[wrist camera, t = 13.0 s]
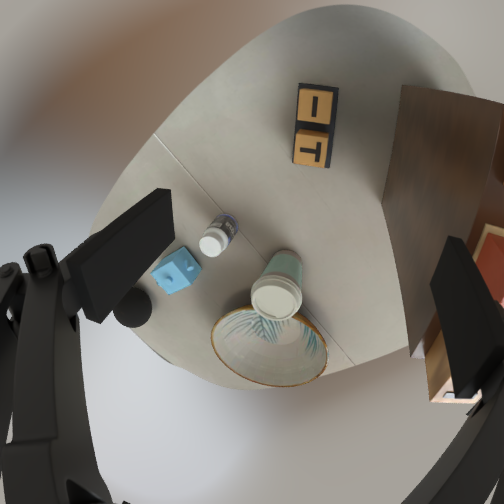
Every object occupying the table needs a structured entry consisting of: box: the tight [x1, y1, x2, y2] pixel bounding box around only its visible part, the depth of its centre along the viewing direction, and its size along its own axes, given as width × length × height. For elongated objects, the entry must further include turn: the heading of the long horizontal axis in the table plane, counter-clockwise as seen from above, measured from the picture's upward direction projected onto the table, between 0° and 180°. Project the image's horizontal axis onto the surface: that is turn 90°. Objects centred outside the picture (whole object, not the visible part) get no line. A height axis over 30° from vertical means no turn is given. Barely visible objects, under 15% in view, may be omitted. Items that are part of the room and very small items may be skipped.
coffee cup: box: [251, 250, 302, 321], centre depth 54 cm, size 8×9×12 cm
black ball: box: [113, 287, 152, 328], centre depth 72 cm, size 10×10×10 cm
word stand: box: [381, 85, 504, 403], centre depth 27 cm, size 20×7×37 cm, turn 178°
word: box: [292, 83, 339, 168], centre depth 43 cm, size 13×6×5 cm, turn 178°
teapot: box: [150, 247, 202, 295], centre depth 62 cm, size 12×6×8 cm, turn 126°
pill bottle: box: [199, 214, 238, 257], centre depth 55 cm, size 5×5×8 cm
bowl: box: [211, 304, 329, 387], centre depth 66 cm, size 25×25×8 cm
